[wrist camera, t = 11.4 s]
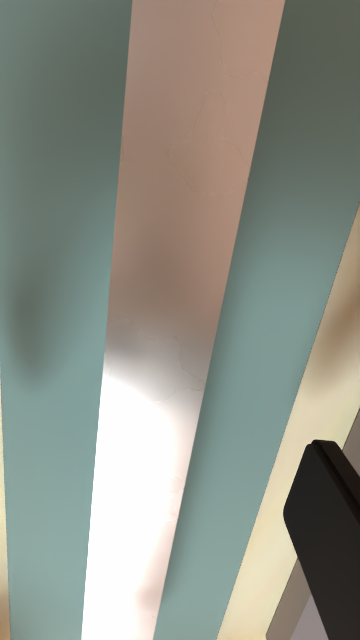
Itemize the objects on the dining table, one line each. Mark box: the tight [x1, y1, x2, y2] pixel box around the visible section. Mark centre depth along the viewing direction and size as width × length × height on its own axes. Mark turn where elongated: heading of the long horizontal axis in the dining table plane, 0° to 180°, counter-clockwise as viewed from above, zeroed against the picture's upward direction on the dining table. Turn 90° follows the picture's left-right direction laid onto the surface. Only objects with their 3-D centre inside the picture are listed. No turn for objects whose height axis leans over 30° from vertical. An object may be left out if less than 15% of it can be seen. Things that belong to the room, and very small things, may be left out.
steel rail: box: [82, 0, 285, 640], centre depth 10 cm, size 24×2×3 cm, turn 171°
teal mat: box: [0, 0, 360, 640], centre depth 12 cm, size 28×10×1 cm, turn 171°
